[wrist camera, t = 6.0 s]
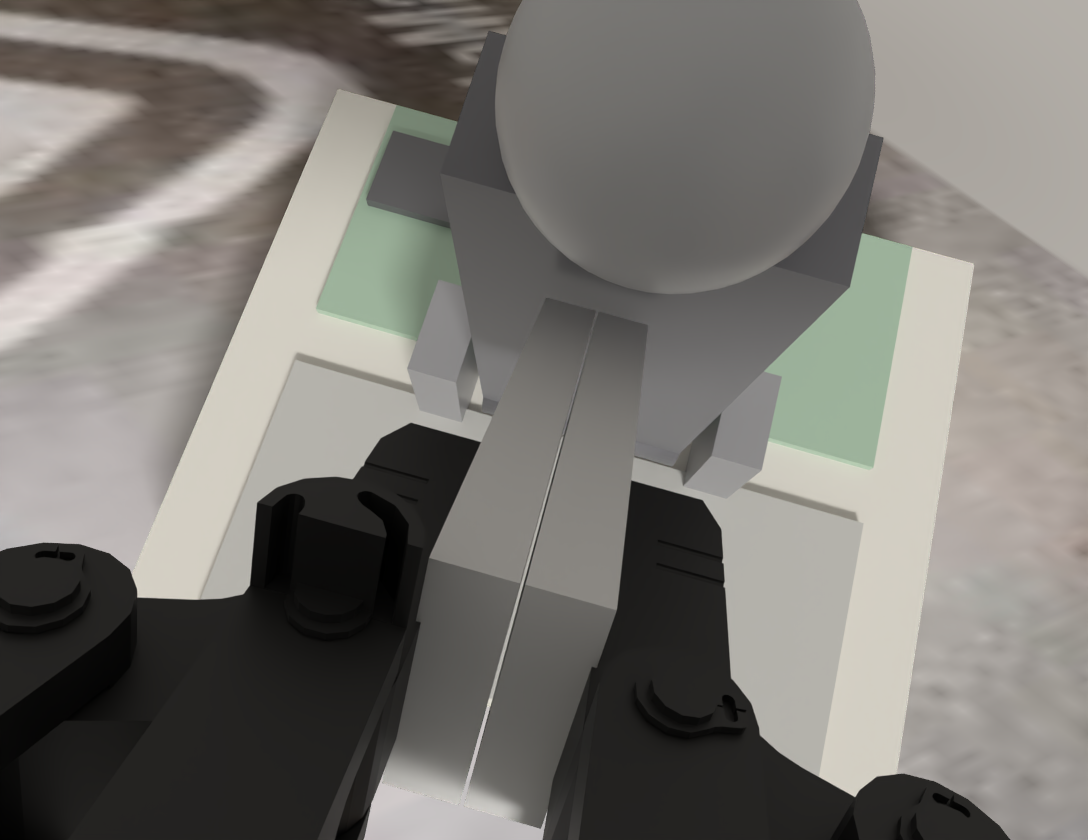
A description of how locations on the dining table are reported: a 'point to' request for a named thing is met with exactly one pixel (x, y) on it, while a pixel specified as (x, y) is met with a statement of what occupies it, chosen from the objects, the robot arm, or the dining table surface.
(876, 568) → the switch box
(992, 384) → the dining table surface
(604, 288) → the toggle lever
